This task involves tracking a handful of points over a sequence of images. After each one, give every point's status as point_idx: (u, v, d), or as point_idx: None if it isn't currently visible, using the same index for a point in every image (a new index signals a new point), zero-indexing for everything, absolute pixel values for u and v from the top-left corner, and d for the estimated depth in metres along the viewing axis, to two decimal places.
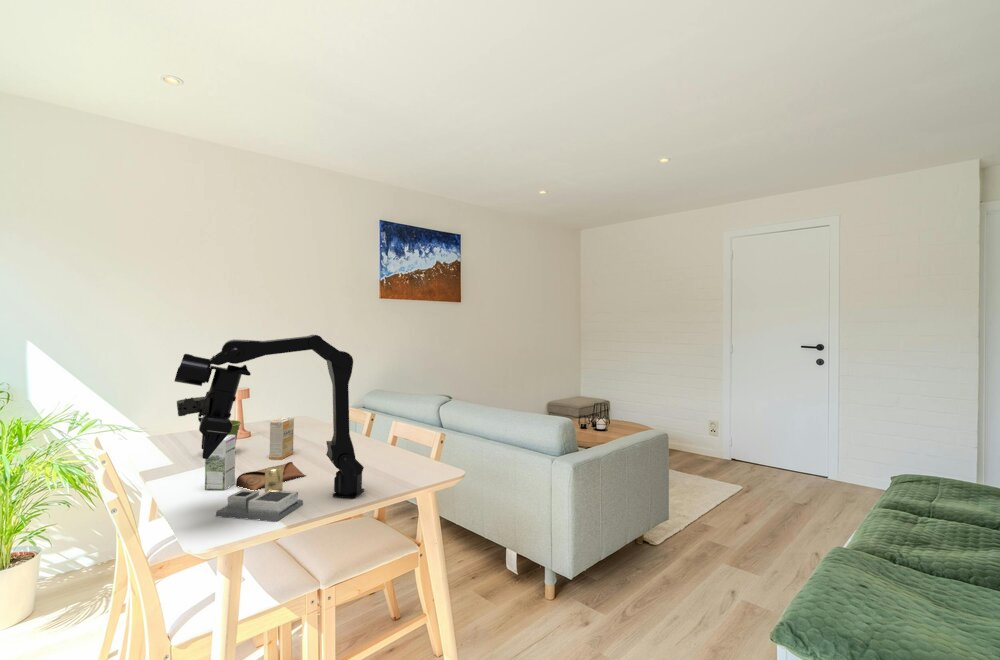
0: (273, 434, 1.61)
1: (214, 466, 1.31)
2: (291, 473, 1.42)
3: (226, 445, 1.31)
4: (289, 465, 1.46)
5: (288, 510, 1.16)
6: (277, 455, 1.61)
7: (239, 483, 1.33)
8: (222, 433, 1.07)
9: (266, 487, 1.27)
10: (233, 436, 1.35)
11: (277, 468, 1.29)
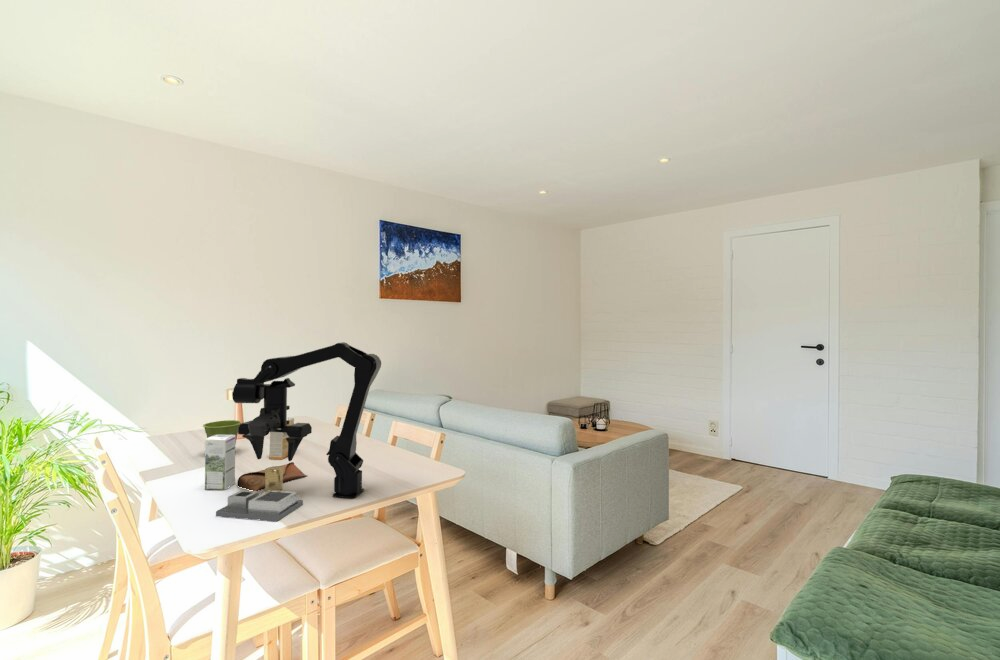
0: (273, 434, 1.61)
1: (214, 466, 1.31)
2: (292, 473, 1.41)
3: (226, 445, 1.31)
4: (290, 465, 1.45)
5: (288, 510, 1.16)
6: (277, 455, 1.61)
7: (240, 483, 1.33)
8: (305, 435, 1.29)
9: (266, 487, 1.27)
10: (233, 436, 1.35)
11: (277, 468, 1.29)
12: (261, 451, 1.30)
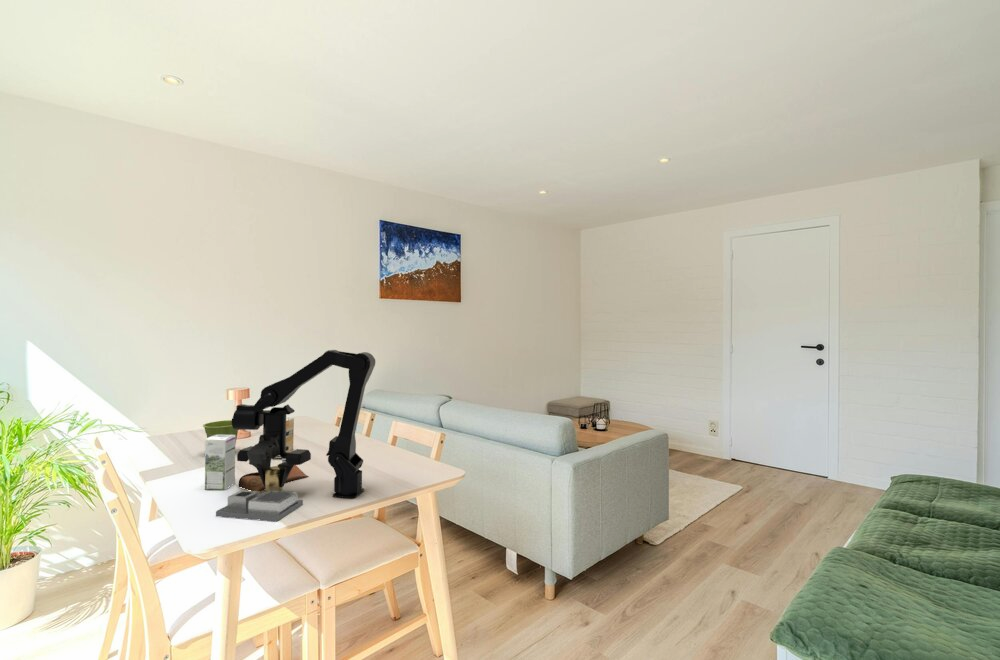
0: None
1: (214, 466, 1.31)
2: (293, 474, 1.41)
3: (226, 445, 1.31)
4: None
5: (288, 510, 1.16)
6: (277, 455, 1.61)
7: (242, 484, 1.33)
8: None
9: (266, 487, 1.27)
10: (233, 436, 1.35)
11: (277, 468, 1.29)
12: None
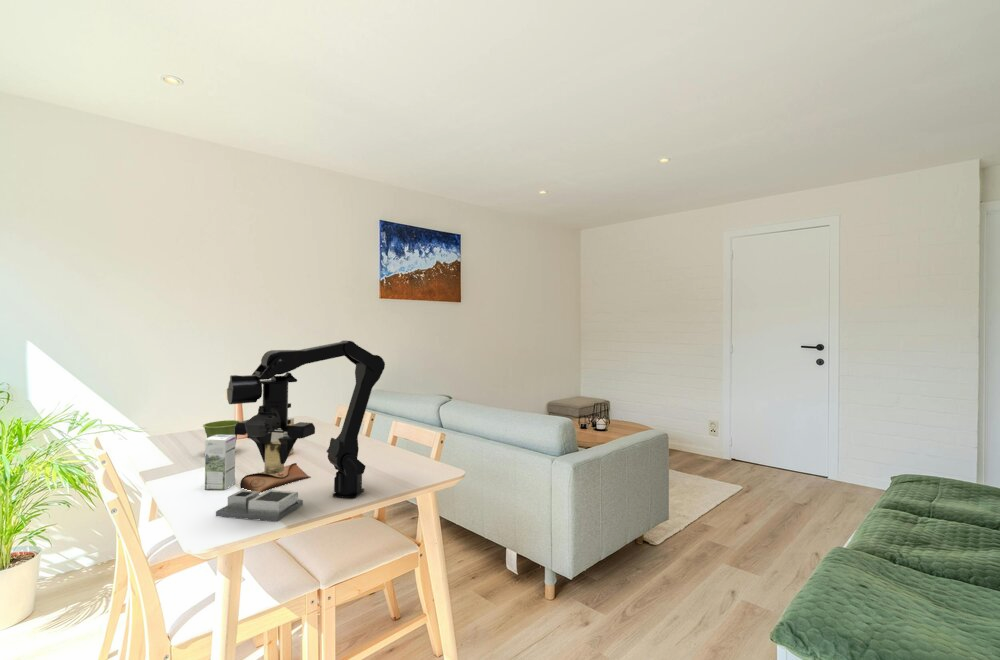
0: (273, 434, 1.61)
1: (214, 466, 1.31)
2: (295, 475, 1.40)
3: (226, 445, 1.31)
4: (293, 466, 1.44)
5: (288, 510, 1.16)
6: None
7: (243, 484, 1.32)
8: None
9: (266, 463, 1.15)
10: (233, 436, 1.35)
11: (278, 443, 1.17)
12: None
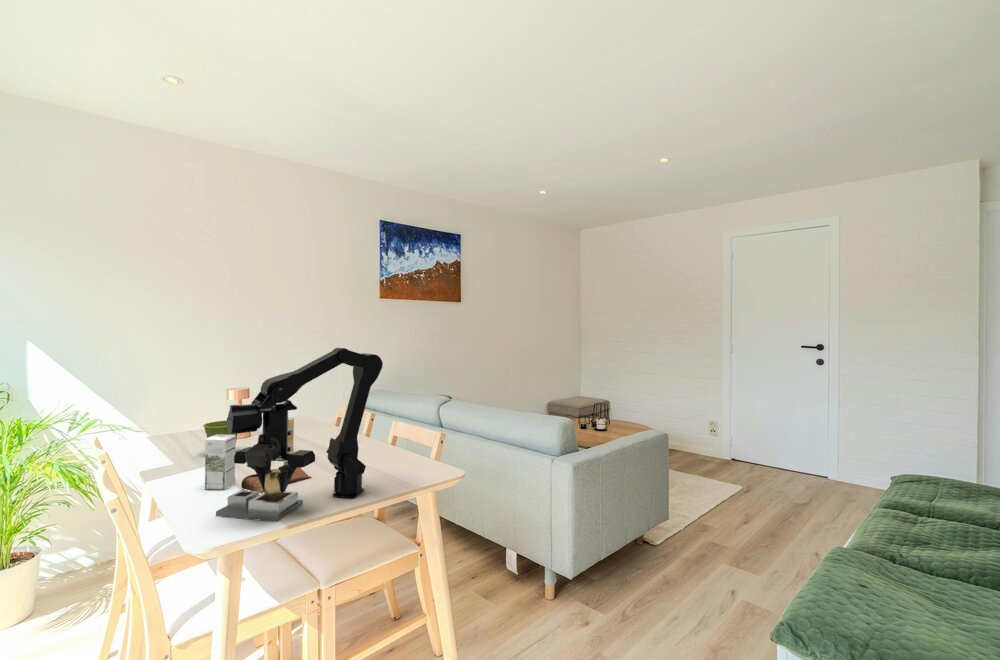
0: None
1: (214, 466, 1.31)
2: (297, 475, 1.40)
3: (226, 445, 1.31)
4: None
5: (288, 510, 1.16)
6: None
7: (245, 485, 1.32)
8: None
9: (266, 492, 1.15)
10: (233, 436, 1.35)
11: (278, 471, 1.17)
12: None
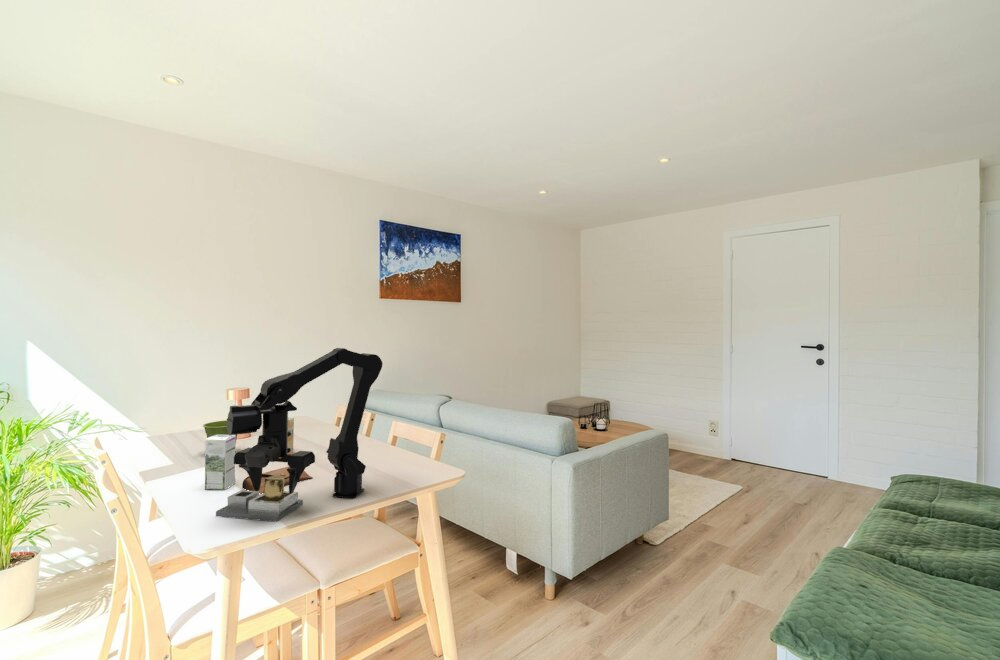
0: None
1: (214, 466, 1.31)
2: None
3: (226, 445, 1.31)
4: None
5: (288, 510, 1.16)
6: None
7: (245, 485, 1.31)
8: None
9: (266, 499, 1.15)
10: (233, 436, 1.35)
11: (278, 478, 1.17)
12: (259, 482, 1.18)
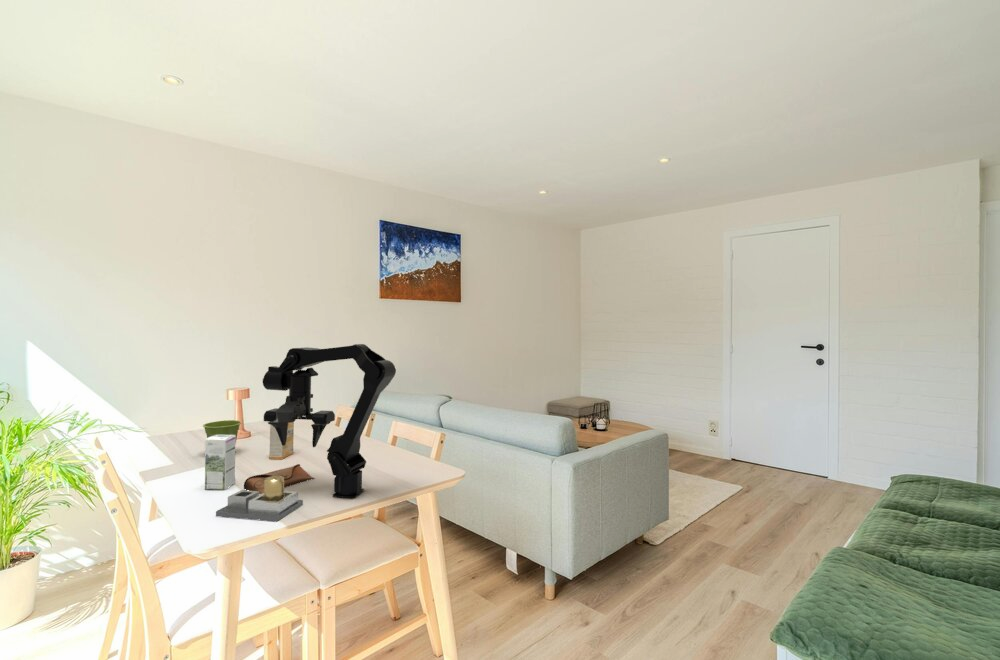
0: (273, 434, 1.61)
1: (214, 466, 1.31)
2: (299, 476, 1.39)
3: (226, 445, 1.31)
4: (297, 468, 1.43)
5: (288, 510, 1.16)
6: (277, 454, 1.61)
7: (247, 486, 1.31)
8: (328, 422, 1.34)
9: (266, 499, 1.15)
10: (233, 436, 1.35)
11: (277, 478, 1.17)
12: (285, 438, 1.35)
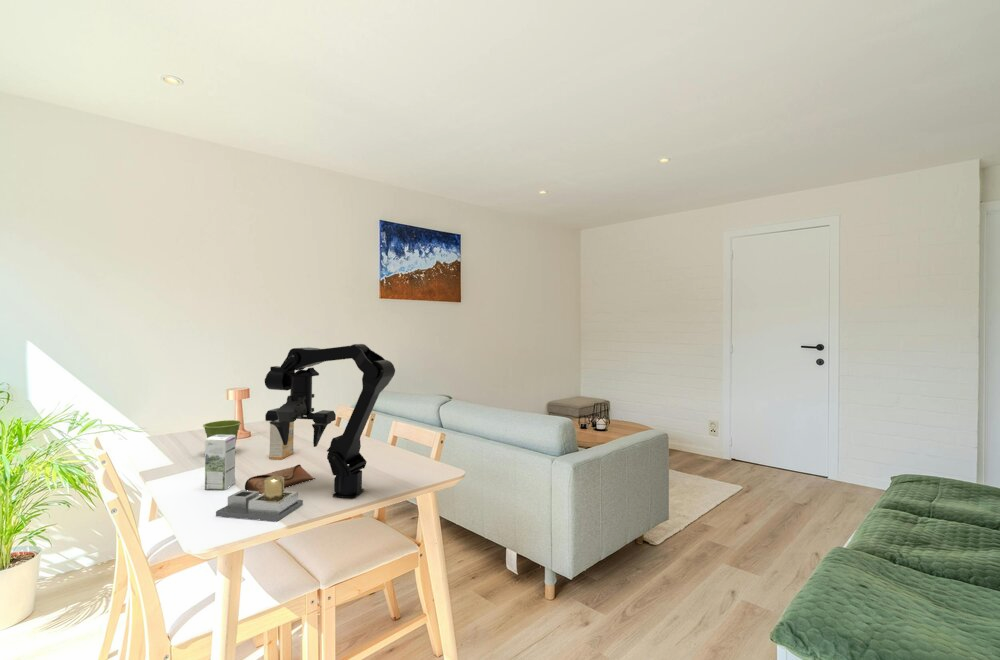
0: (273, 434, 1.61)
1: (214, 466, 1.31)
2: (300, 476, 1.39)
3: (226, 445, 1.31)
4: (298, 468, 1.43)
5: (288, 510, 1.16)
6: (277, 454, 1.61)
7: (248, 486, 1.31)
8: (329, 422, 1.35)
9: (266, 499, 1.15)
10: (233, 436, 1.35)
11: (277, 478, 1.17)
12: (287, 437, 1.35)
